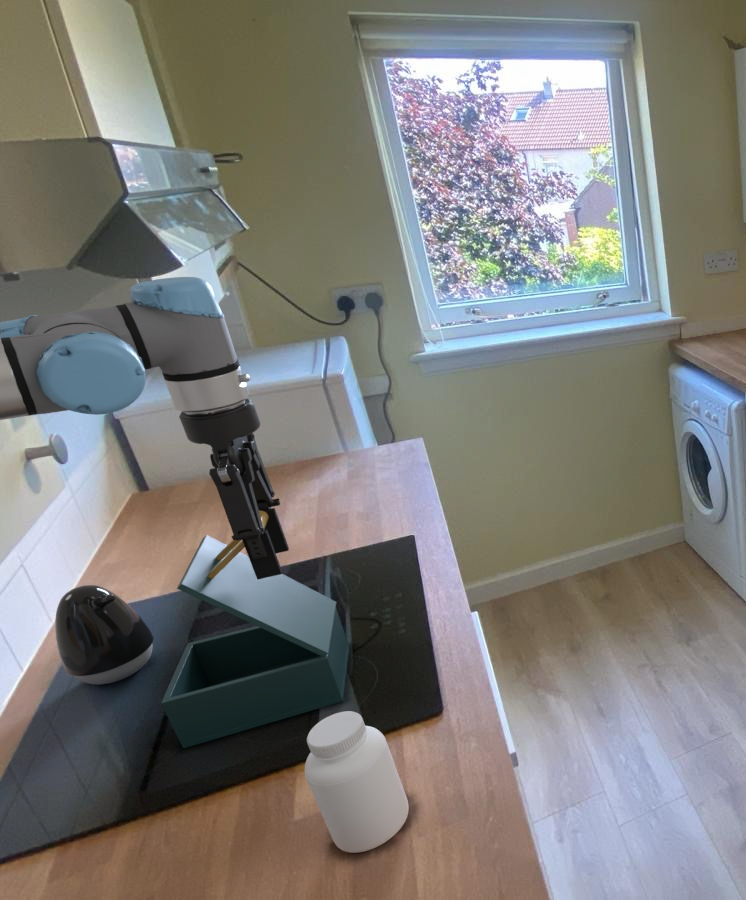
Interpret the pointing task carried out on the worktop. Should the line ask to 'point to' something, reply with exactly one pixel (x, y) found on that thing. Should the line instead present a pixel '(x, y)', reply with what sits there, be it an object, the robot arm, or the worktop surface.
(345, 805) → the pill bottle
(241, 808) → the worktop surface
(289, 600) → the bin lid
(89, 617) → the black rounded egg shape
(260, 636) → the bin
